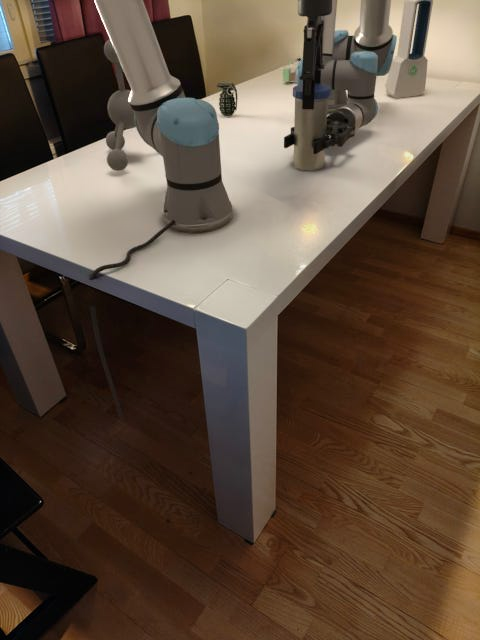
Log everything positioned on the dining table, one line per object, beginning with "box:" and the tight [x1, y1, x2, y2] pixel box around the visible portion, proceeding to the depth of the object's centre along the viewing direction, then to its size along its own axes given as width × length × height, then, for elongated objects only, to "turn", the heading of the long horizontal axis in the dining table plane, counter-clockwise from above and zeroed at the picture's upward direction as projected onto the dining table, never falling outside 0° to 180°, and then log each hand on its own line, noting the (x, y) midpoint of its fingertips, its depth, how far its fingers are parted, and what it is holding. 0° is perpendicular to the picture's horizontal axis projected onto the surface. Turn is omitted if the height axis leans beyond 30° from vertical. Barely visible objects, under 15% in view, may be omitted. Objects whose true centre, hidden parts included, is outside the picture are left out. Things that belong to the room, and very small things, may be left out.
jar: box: [293, 97, 328, 171], centre depth 124 cm, size 8×8×18 cm
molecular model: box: [103, 38, 136, 172], centre depth 131 cm, size 24×22×30 cm
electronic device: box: [384, 0, 434, 99], centre depth 170 cm, size 12×8×30 cm, turn 105°
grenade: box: [215, 82, 238, 117], centre depth 166 cm, size 7×6×10 cm
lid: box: [292, 84, 331, 100], centre depth 118 cm, size 9×9×2 cm
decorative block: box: [282, 61, 299, 84], centre depth 205 cm, size 26×6×20 cm
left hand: (311, 103), depth 120 cm, fingers closed on lid, 9 cm apart
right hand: (299, 145), depth 122 cm, fingers closed on jar, 8 cm apart
